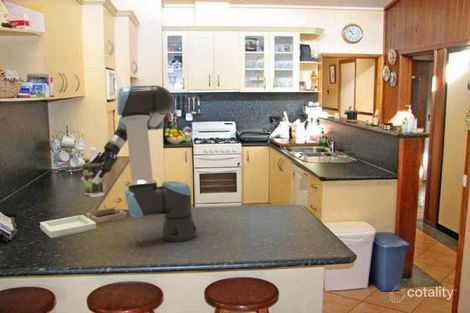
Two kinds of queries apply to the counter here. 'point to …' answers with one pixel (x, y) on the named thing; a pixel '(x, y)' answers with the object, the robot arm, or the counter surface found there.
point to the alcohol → (93, 155)
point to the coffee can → (89, 175)
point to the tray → (67, 226)
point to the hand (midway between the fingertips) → (89, 181)
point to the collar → (93, 214)
